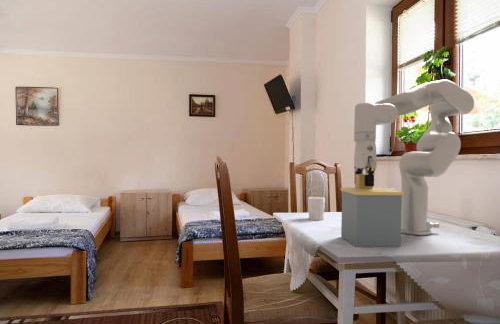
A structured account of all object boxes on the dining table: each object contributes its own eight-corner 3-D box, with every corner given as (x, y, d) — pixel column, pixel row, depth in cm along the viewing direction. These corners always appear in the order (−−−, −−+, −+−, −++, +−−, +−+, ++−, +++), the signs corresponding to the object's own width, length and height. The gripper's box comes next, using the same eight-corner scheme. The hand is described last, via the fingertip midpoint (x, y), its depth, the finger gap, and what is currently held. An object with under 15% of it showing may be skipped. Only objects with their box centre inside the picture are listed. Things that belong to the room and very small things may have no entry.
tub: (381, 236, 139) (381, 190, 139) (400, 246, 124) (401, 195, 124) (341, 236, 138) (342, 190, 137) (356, 247, 123) (357, 194, 123)
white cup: (304, 218, 178) (305, 196, 178) (319, 217, 180) (320, 196, 180) (312, 221, 170) (312, 198, 170) (327, 220, 173) (328, 198, 172)
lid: (382, 190, 139) (383, 174, 139) (403, 195, 123) (404, 177, 123) (340, 190, 138) (340, 173, 138) (356, 195, 122) (356, 176, 122)
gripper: (385, 136, 128) (384, 187, 128) (365, 138, 145) (364, 183, 145) (363, 136, 127) (362, 187, 128) (346, 138, 145) (345, 183, 145)
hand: (363, 185), depth 137 cm, fingers open, 9 cm apart
